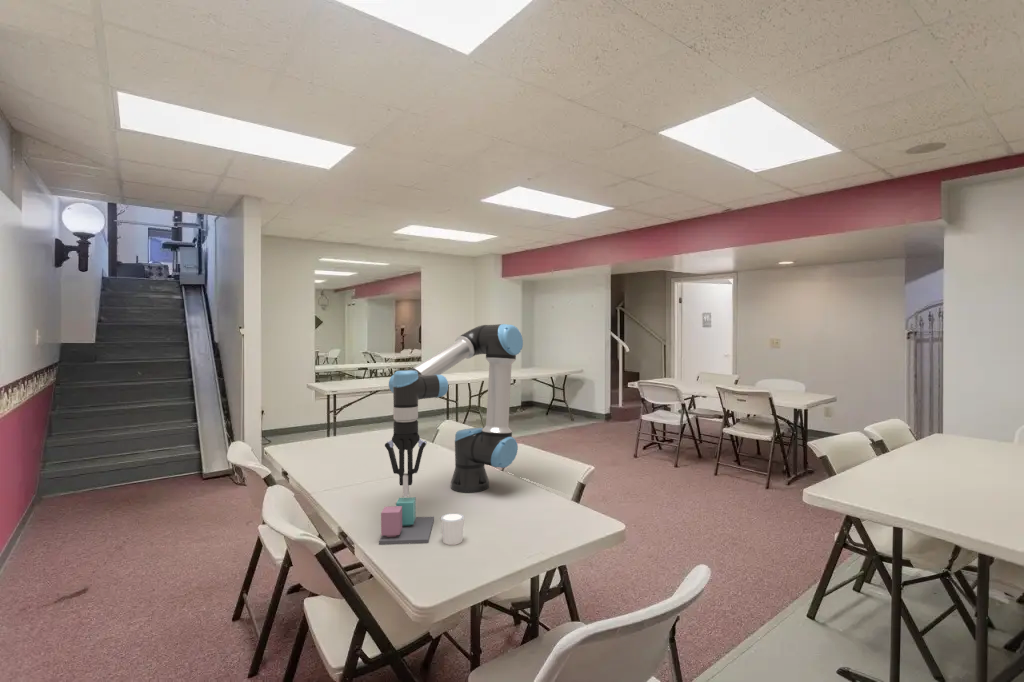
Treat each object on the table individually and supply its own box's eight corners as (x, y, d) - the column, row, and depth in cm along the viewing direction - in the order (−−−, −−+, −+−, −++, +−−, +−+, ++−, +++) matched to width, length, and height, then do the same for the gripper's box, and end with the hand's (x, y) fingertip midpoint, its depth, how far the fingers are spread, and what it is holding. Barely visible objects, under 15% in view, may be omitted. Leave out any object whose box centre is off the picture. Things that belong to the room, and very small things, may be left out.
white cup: (453, 534, 144) (452, 510, 144) (469, 540, 140) (469, 516, 140) (435, 541, 139) (435, 517, 139) (452, 548, 135) (452, 523, 135)
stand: (434, 519, 156) (433, 493, 156) (428, 542, 138) (427, 513, 138) (390, 520, 155) (390, 494, 155) (378, 544, 137) (378, 514, 137)
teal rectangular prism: (415, 518, 152) (415, 497, 152) (413, 524, 147) (413, 502, 147) (399, 518, 152) (398, 497, 152) (396, 524, 147) (396, 503, 147)
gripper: (428, 417, 154) (428, 491, 154) (387, 418, 153) (387, 492, 153) (425, 421, 146) (425, 498, 146) (382, 422, 145) (382, 499, 145)
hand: (406, 495), depth 150 cm, fingers closed
